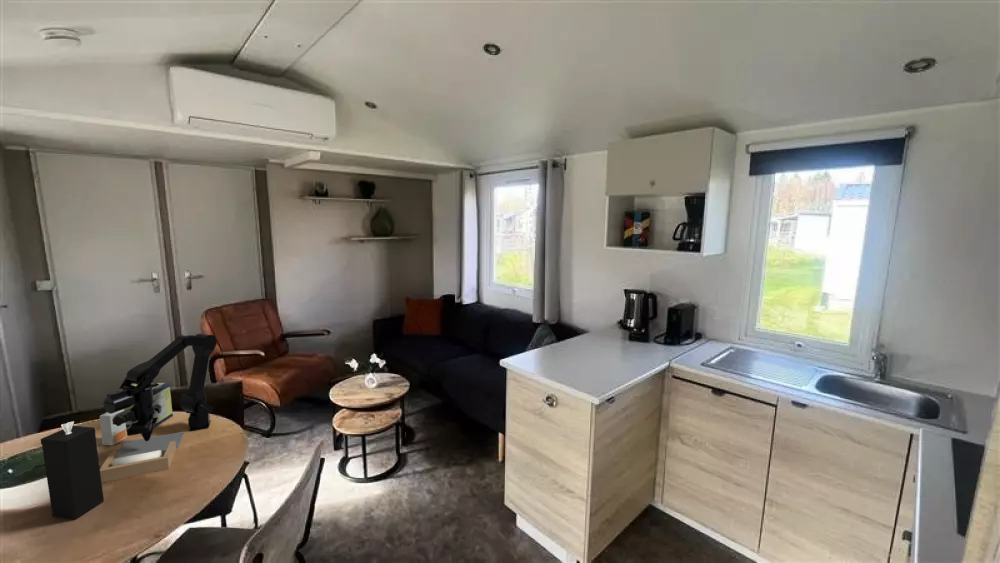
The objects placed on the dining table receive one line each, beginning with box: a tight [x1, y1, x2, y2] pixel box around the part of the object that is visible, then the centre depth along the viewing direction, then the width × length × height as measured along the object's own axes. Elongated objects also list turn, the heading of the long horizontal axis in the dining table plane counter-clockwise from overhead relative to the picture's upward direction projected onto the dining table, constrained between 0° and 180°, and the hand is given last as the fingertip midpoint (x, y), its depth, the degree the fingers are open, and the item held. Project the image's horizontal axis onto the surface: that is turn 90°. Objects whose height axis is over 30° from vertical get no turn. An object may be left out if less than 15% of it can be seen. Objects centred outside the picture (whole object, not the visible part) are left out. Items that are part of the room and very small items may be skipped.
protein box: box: [112, 382, 174, 429], centre depth 171 cm, size 10×16×16 cm
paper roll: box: [112, 450, 162, 466], centre depth 141 cm, size 12×5×5 cm, turn 119°
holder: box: [100, 431, 185, 484], centre depth 149 cm, size 18×26×4 cm
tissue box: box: [40, 420, 105, 520], centre depth 120 cm, size 8×8×28 cm
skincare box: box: [99, 409, 128, 446], centre depth 157 cm, size 6×4×12 cm
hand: (147, 440), depth 151 cm, fingers closed
